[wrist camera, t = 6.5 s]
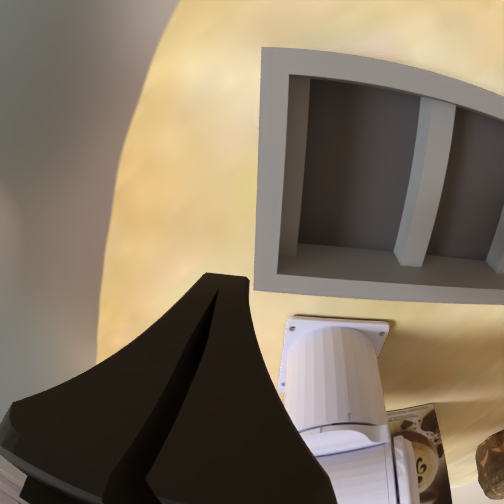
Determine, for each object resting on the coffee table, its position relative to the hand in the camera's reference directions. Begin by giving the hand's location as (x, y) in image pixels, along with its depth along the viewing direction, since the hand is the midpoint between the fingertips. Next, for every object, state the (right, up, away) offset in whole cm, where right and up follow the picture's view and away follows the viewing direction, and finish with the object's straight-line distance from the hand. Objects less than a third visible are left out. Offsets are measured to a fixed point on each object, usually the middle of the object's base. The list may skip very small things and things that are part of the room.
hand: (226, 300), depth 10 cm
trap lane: (+17, +5, +7) cm, 19 cm away
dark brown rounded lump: (+42, -30, +23) cm, 57 cm away
